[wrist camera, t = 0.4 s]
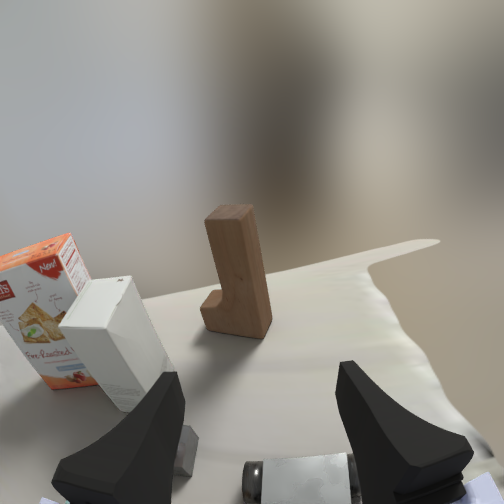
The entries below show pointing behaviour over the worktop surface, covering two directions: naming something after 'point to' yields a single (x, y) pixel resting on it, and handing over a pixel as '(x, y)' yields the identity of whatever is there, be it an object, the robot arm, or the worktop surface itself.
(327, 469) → the trolley
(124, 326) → the skincare box
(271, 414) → the worktop surface
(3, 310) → the cracker box
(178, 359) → the worktop surface
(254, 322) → the wooden block
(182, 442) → the bracket
